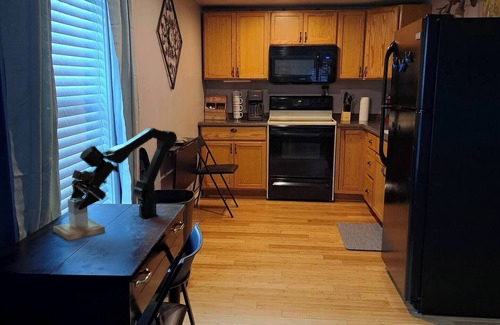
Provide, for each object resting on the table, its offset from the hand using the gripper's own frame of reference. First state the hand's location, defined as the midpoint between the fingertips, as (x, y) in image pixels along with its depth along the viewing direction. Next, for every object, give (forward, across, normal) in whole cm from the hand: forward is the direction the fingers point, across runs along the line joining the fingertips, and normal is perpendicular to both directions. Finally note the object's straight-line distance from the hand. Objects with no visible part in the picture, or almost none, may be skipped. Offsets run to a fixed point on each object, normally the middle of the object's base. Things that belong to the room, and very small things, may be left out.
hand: (73, 207), depth 156 cm
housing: (+4, 0, +6) cm, 8 cm away
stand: (+6, 0, +8) cm, 10 cm away
